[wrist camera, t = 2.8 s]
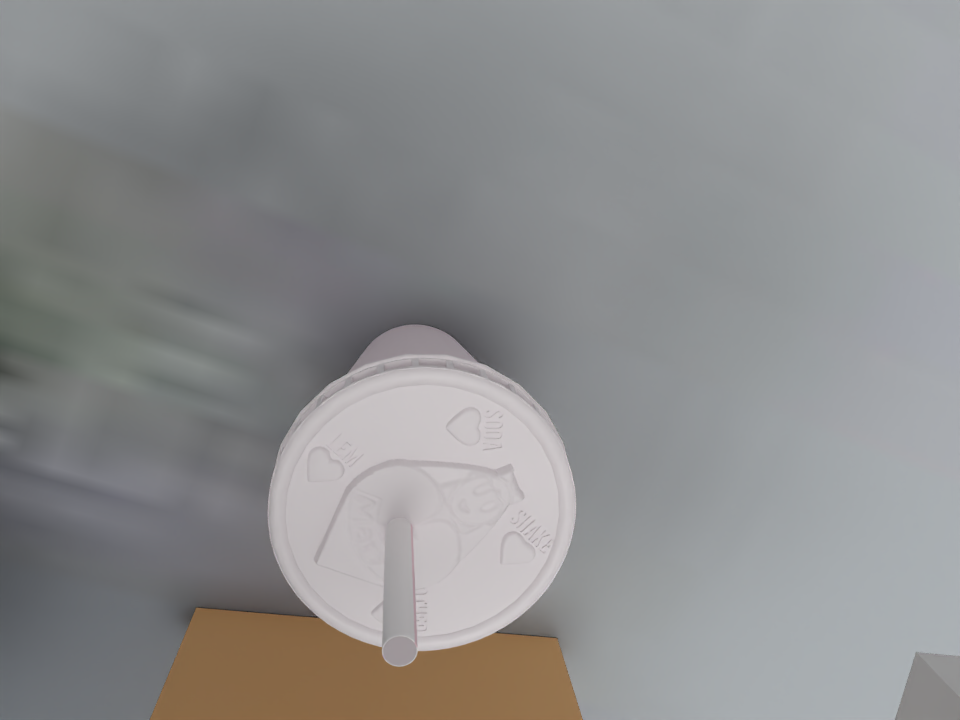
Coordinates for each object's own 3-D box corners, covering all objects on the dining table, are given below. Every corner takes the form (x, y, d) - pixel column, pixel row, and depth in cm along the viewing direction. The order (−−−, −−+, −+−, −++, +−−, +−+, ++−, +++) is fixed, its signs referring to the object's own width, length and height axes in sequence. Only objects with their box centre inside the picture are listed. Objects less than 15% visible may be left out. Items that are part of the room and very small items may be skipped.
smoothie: (275, 326, 26) (146, 539, 13) (475, 248, 26) (558, 378, 13) (359, 508, 28) (323, 865, 14) (546, 435, 28) (686, 724, 14)
